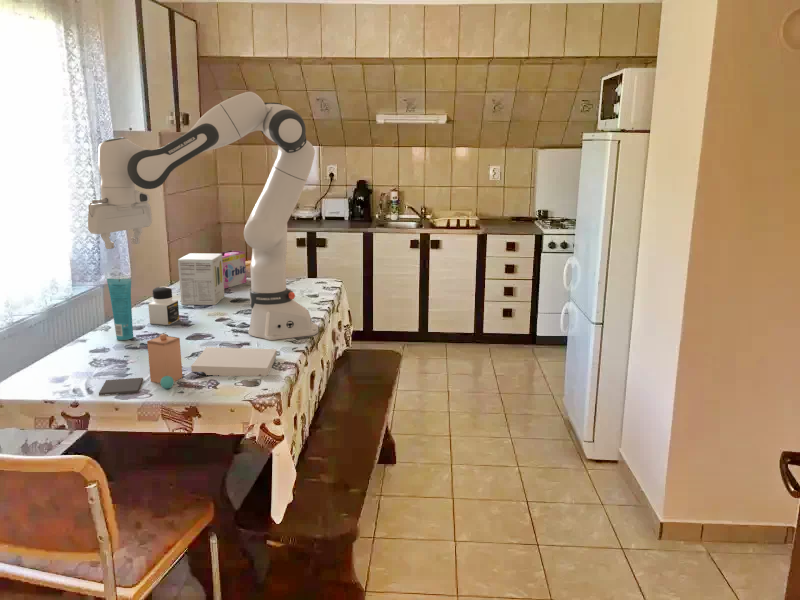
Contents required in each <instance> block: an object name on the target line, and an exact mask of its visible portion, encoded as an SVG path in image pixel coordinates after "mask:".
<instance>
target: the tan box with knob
mask: <svg viewBox="0 0 800 600" xmlns="http://www.w3.org/2000/svg"><path fill="white" fill-rule="evenodd" d="M180 339H181V338H180V337H176V336H171V335H167V334H166V333H161V334H160V335H159V336H157V337H154V338H152V339H149V340H147V341H146V342H147V343H146V345H147V354H148V364H149V365H148V366H149V378H150V382H152V383H157V384H160V381H161V379H162V378H163V377H164V376H170V377H172V378H173V380H174V382H176V381H178V379H179V380H180V378H181V379H183V378H182V377H183V364H182V354H181V353H182V352H181V341H180Z"/></svg>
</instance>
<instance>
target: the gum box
mask: <svg viewBox="0 0 800 600" xmlns="http://www.w3.org/2000/svg"><path fill="white" fill-rule="evenodd" d="M216 254H222V263H223V280H224V290H225V289H228V288H232V287H235V286H238V285H243V284H245V283H247V268H246V267H247V265H246V263H247V262H246V251H241V250H232V249H231V250H226V251H221V252H217V253H216Z"/></svg>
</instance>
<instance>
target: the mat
mask: <svg viewBox="0 0 800 600" xmlns="http://www.w3.org/2000/svg"><path fill="white" fill-rule="evenodd" d="M143 382H144V377H135V378H134V377H133V378H132V377H131V378H118V379H117V378H116V379H106V380H105V381H104V383H103V384H102V387H101V389H100V390H99V392H98V396H106V395H105V394H110V395H117V394H116V393H124V394H137V393H138V392H139V391H140V388H141V387H142V383H143Z"/></svg>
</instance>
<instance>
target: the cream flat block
mask: <svg viewBox="0 0 800 600" xmlns="http://www.w3.org/2000/svg"><path fill="white" fill-rule="evenodd" d="M277 350H278V349H277V348H276V349H275V348H249V347H248V348H247V347H246V348H241V347H215V346H214V347H210V346H209V347H207V346H206V347H205V348H204V349H203V351H202V352H201V354H200V355H199V356H198V357H197V358H196V360H194V361H193V363H192V364H191V365H190V367H191V369H190V370H191V372H194V373H203V374H205V375H206V376H207V375H213V376H218V375H219V376H218V377H259V376H261V377H267V376H268V375H269V374H270V371H271V369H272V367H273V365H274V363H275V360H276V358H277V354H278V353H277Z"/></svg>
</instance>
